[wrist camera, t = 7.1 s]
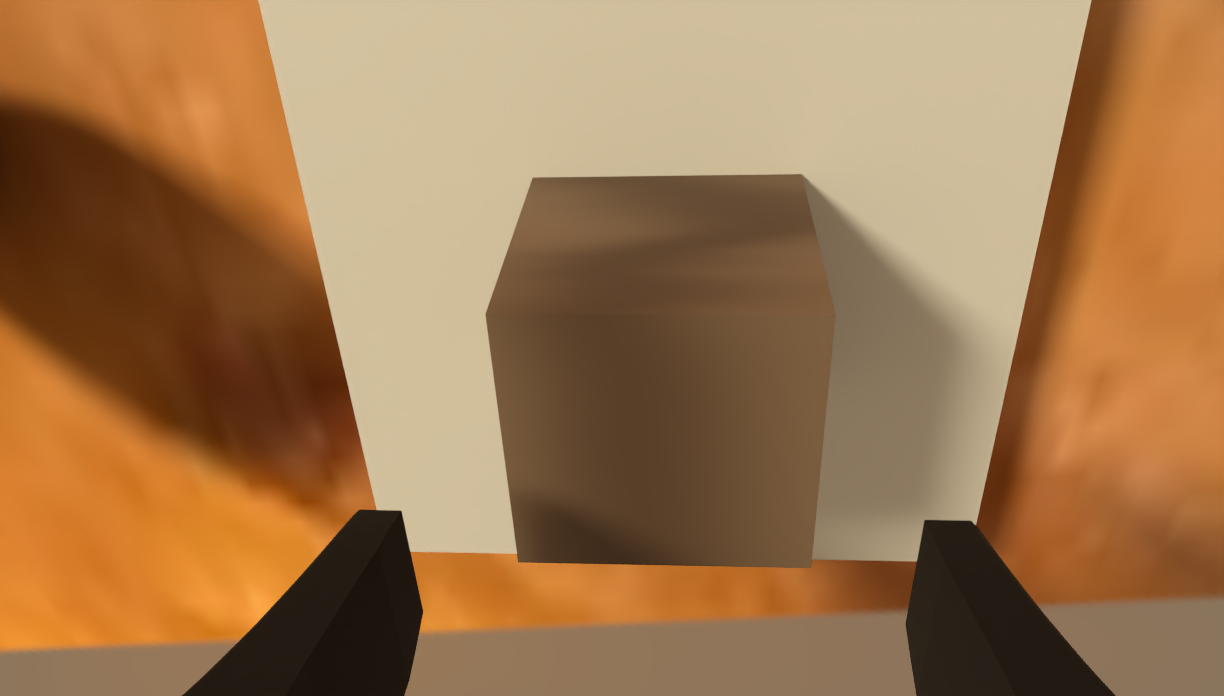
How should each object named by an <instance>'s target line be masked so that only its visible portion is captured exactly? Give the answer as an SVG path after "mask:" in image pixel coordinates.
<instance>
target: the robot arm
mask: <svg viewBox="0 0 1224 696" xmlns="http://www.w3.org/2000/svg"><path fill="white" fill-rule="evenodd" d="M422 614H423V609H422V604H421V600H420V595H419V590H418V586H417V581H416V576H415V572H414V567H413V562H412V558H411V553H410V548H409V544H408V539H407V534H406V530H405V525H404V520H403V516H402V511H398V510H359V511H358V512H357V513H356V514H355V515H353V517H352V518H351V519H350V520H349V521H348V522H347V523H346V524H345V526H344V527H343V528H342V529H341V530H340V531H339V532H338V534H337V535H336V536H335V537H334V538H333V539H332V541H331V542H330V543H329V544H328V545H327V546H326V547H325V549H324V550H323V551H322V552H321V553H320V554H319V556H318V557H317V558H316V559H315V560H314V561H313V562H312V564H311V565H310V566H309V567H308V568H307V569H306V570H305V571H304V573H303V574H302V575H301V576H300V577H299V578H298V579H297V580H296V582H295V583H294V584H293V585H292V586H291V587H290V588H289V589H288V590H287V591H286V592H285V594H284V595H283V596H282V597H281V598H280V599H279V600H278V601H277V602H276V603H275V604H274V605H273V606H272V608H271V609H270V610H269V611H268V612H267V613H266V614H265V615H264V616H263V617H262V618H261V619H260V621H259V622H258V623H257V624H256V625H255V626H254V627H253V628H252V629H251V630H250V631H249V632H248V633H247V634H246V635H245V636H244V637H243V638H242V639H241V640H240V641H239V642H238V643H237V644H236V645H235V646H234V647H233V648H232V649H231V650H230V651H229V652H228V653H227V654H226V655H225V656H224V657H223V658H222V659H221V660H220V661H219V662H218V663H217V664H215V665H214V666H213V668H211V669H210V670H209V671H208V672H207V673H206V674H205V675H204V676H203V677H202V678H201V679H200V680H199V681H198V682H197V683H195V684H194V685H193V686H192V687H191V688H190V689H189V690H188V691H187V692H186V693H185V694H183V695H182V696H404V694H405V691H406V688H407V685H408V682H409V678H410V673H411V669H412V664H413V660H414V655H415V650H416V645H417V640H418V635H419V630H420V625H421V619H422ZM906 629H907V636H908V644H909V650H910V657H911V663H912V670H913V676H914V682H915V688H916V694H917V696H1115V695H1114V694H1113V692H1112V691H1111V690H1110V689H1109V688H1108V687H1107V686H1106V685H1105V684H1104V683H1103V682H1102V681H1101V680H1100V679H1099V677H1098V676H1097V675H1096V674H1095V673H1094V672H1093V671H1092V670H1091V668H1090V667H1089V666H1088V665H1087V664H1086V663H1085V662H1084V661H1083V659H1082V658H1081V657H1080V656H1079V655H1078V654H1077V653H1076V651H1075V650H1074V649H1073V648H1072V647H1071V645H1070V644H1069V643H1068V642H1067V641H1066V640H1065V639H1064V637H1063V636H1062V635H1061V634H1060V632H1059V631H1058V630H1057V629H1056V628H1055V627H1054V625H1053V624H1052V623H1051V622H1050V621H1049V619H1048V618H1047V617H1046V616H1045V615H1044V613H1043V612H1042V611H1041V610H1040V608H1039V607H1038V606H1037V605H1036V603H1035V602H1034V601H1033V600H1032V598H1031V597H1030V596H1029V595H1028V593H1027V592H1026V591H1025V589H1024V588H1023V587H1022V586H1021V584H1020V583H1019V582H1018V580H1017V579H1016V578H1015V577H1014V575H1013V574H1012V573H1011V571H1010V570H1009V569H1008V567H1007V566H1006V565H1005V563H1004V562H1003V561H1002V559H1001V558H1000V557H999V555H998V554H997V553H996V551H995V550H994V549H993V547H992V546H991V545H990V543H989V542H988V541H987V539H986V538H985V537H984V535H983V534H982V532H981V531H980V530H979V528H978V527H977V526H976V525H975V524H974V523H973V522H972V521H961V520H924V525H923V531H922V537H921V542H920V548H919V553H918V559H917V564H916V570H915V575H914V581H913V586H912V592H911V598H910V603H909V609H908V614H907V620H906Z"/></svg>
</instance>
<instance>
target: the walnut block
mask: <svg viewBox="0 0 1224 696" xmlns="http://www.w3.org/2000/svg"><path fill="white" fill-rule="evenodd" d="M485 315H486V323H487V331H488V338H489V346H490V353H491V361H492V368H493V376H494V383H495V391H496V399H497V406H498V414H499V421H500V429H501V436H502V444H503V451H504V459H505V467H506V474H507V482H508V489H509V497H510V504H511V512H512V519H513V527H514V535H515V542H516V550H517V557H518V562H531V563H582V564H632V565H683V566H734V567H784V568H811V563H812V553H813V543H814V532H815V522H816V512H817V501H818V491H819V481H820V470H821V460H822V450H823V439H824V429H825V419H826V408H827V398H828V388H829V377H830V367H831V357H832V346H833V336H834V326H835V316H836V313H835V309H834V305H833V301H832V297H831V293H830V289H829V284H828V280H827V276H826V272H825V268H824V264H823V260H822V256H821V252H820V247H819V243H818V239H817V235H816V231H815V227H814V223H813V219H812V215H811V210H810V206H809V202H808V198H807V194H806V190H805V186H804V182H803V178H802V174H772V175H693V176H615V177H536V178H532V181H531V184H530V187H529V190H528V192H527V195H526V198H525V201H524V204H523V207H522V210H521V213H520V216H519V218H518V221H517V224H516V227H515V230H514V233H513V236H512V239H511V242H510V244H509V247H508V250H507V253H506V256H505V259H504V262H503V265H502V268H501V270H500V273H499V276H498V279H497V282H496V285H495V288H494V291H493V294H492V296H491V299H490V302H489V305H488V308H487V311H486V314H485Z"/></svg>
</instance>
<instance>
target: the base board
mask: <svg viewBox="0 0 1224 696" xmlns="http://www.w3.org/2000/svg"><path fill="white" fill-rule="evenodd" d="M258 1H259V5H260V9H261V14H262V18H263V22H264V26H265V31H266V35H267V39H268V44H269V48H270V52H271V57H272V61H273V65H274V70H275V74H276V78H277V82H278V87H279V91H280V95H281V100H282V104H283V108H284V113H285V117H286V121H287V125H288V130H289V134H290V138H291V143H292V147H293V151H294V156H295V160H296V164H297V169H298V173H299V177H300V181H301V186H302V190H303V194H304V199H305V203H306V207H307V212H308V216H309V220H310V225H311V229H312V233H313V237H314V242H315V246H316V250H317V255H318V259H319V263H320V268H321V272H322V276H323V281H324V285H325V289H326V293H327V298H328V302H329V306H330V311H331V315H332V319H333V324H334V328H335V332H336V337H337V341H338V345H339V349H340V354H341V358H342V362H343V367H344V371H345V375H346V380H347V384H348V388H349V392H350V397H351V401H352V405H353V410H354V414H355V418H356V423H357V427H358V431H359V436H360V440H361V444H362V448H363V453H364V457H365V461H366V466H367V470H368V474H369V479H370V483H371V487H372V492H373V496H374V500H375V504H376V509H377V510H398V511H402V516H403V520H404V525H405V530H406V534H407V539H408V544H409V548H410V552H459V553H510V554H517V550H516V542H515V535H514V527H513V519H512V512H511V504H510V497H509V489H508V482H507V474H506V467H505V459H504V451H503V444H502V436H501V429H500V421H499V414H498V406H497V399H496V391H495V383H494V376H493V368H492V361H491V353H490V346H489V338H488V331H487V323H486V315H485V314H486V311H487V308H488V305H489V302H490V299H491V296H492V294H493V291H494V288H495V285H496V282H497V279H498V276H499V273H500V270H501V268H502V265H503V262H504V259H505V256H506V253H507V250H508V247H509V244H510V242H511V239H512V236H513V233H514V230H515V227H516V224H517V221H518V218H519V216H520V213H521V210H522V207H523V204H524V201H525V198H526V195H527V192H528V190H529V187H530V184H531V181H532V178H536V177H615V176H693V175H772V174H802V178H803V182H804V186H805V190H806V194H807V198H808V202H809V206H810V210H811V215H812V219H813V223H814V227H815V231H816V235H817V239H818V243H819V247H820V252H821V256H822V260H823V264H824V268H825V272H826V276H827V280H828V284H829V289H830V293H831V297H832V301H833V305H834V309H835V313H836V316H835V326H834V336H833V346H832V357H831V367H830V377H829V388H828V398H827V408H826V419H825V429H824V439H823V450H822V460H821V470H820V481H819V491H818V501H817V512H816V522H815V532H814V543H813V553H812V559H815V560H866V561H917V559H918V553H919V548H920V542H921V537H922V531H923V525H924V520H961V521H972V522H973V523H974V524H975V525H976V523H977V518H978V514H979V509H980V505H981V500H982V496H983V491H984V487H985V482H986V478H987V473H988V468H989V464H990V459H991V455H992V450H993V446H994V441H995V437H996V432H997V428H998V423H999V418H1000V414H1001V409H1002V405H1003V400H1004V396H1005V391H1006V387H1007V382H1008V378H1009V373H1010V368H1011V364H1012V359H1013V355H1014V350H1015V346H1016V341H1017V337H1018V332H1019V328H1020V323H1021V319H1022V314H1023V309H1024V305H1025V300H1026V296H1027V291H1028V287H1029V282H1030V278H1031V273H1032V269H1033V264H1034V259H1035V255H1036V250H1037V246H1038V241H1039V237H1040V232H1041V228H1042V223H1043V219H1044V214H1045V210H1046V205H1047V200H1048V196H1049V191H1050V187H1051V182H1052V178H1053V173H1054V169H1055V164H1056V160H1057V155H1058V150H1059V146H1060V141H1061V137H1062V132H1063V128H1064V123H1065V119H1066V114H1067V110H1068V105H1069V100H1070V96H1071V91H1072V87H1073V82H1074V78H1075V73H1076V69H1077V64H1078V60H1079V55H1080V51H1081V46H1082V41H1083V37H1084V32H1085V28H1086V23H1087V19H1088V14H1089V10H1090V5H1091V1H1092V0H258Z"/></svg>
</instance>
